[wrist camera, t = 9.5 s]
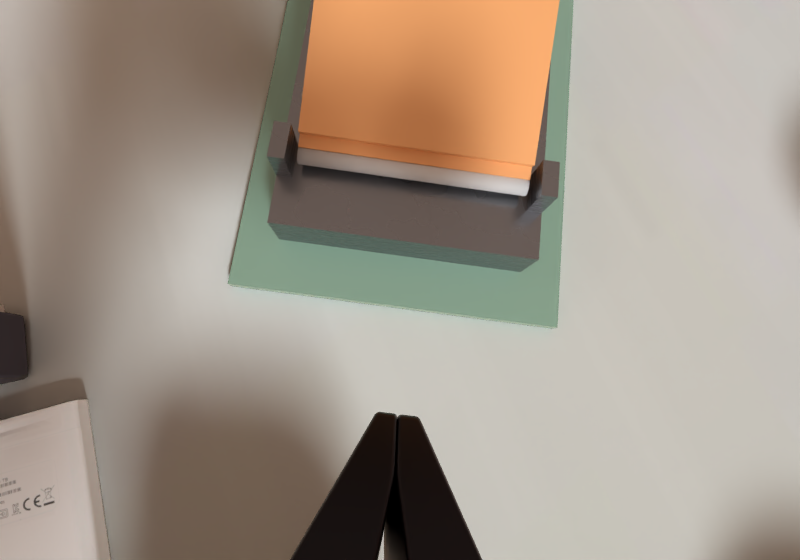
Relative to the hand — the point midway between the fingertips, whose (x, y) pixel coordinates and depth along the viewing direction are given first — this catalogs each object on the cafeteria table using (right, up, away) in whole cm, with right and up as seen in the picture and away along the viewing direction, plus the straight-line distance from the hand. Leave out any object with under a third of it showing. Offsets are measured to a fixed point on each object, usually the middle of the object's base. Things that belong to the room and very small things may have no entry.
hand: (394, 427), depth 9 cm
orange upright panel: (+1, +8, +11) cm, 13 cm away
